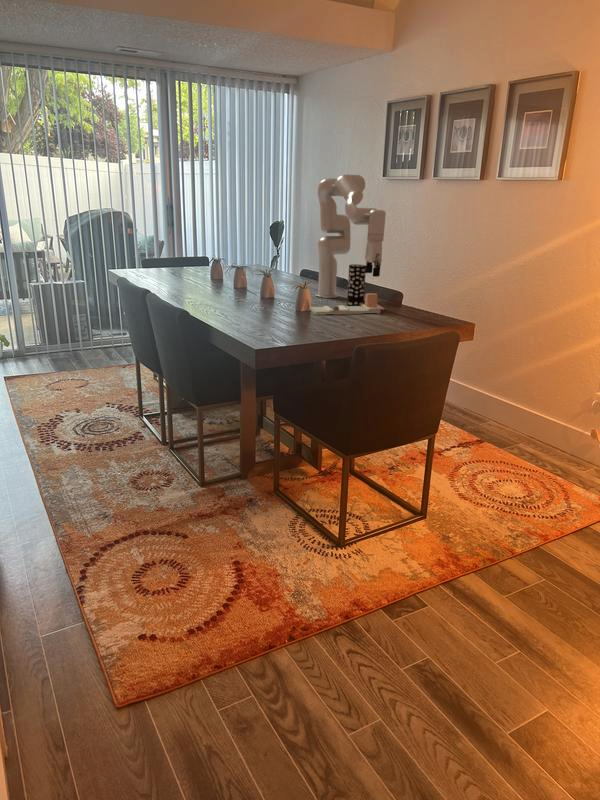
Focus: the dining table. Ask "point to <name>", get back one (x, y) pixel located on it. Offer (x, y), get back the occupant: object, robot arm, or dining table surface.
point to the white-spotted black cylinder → (356, 285)
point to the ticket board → (341, 309)
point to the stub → (371, 302)
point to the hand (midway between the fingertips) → (372, 274)
